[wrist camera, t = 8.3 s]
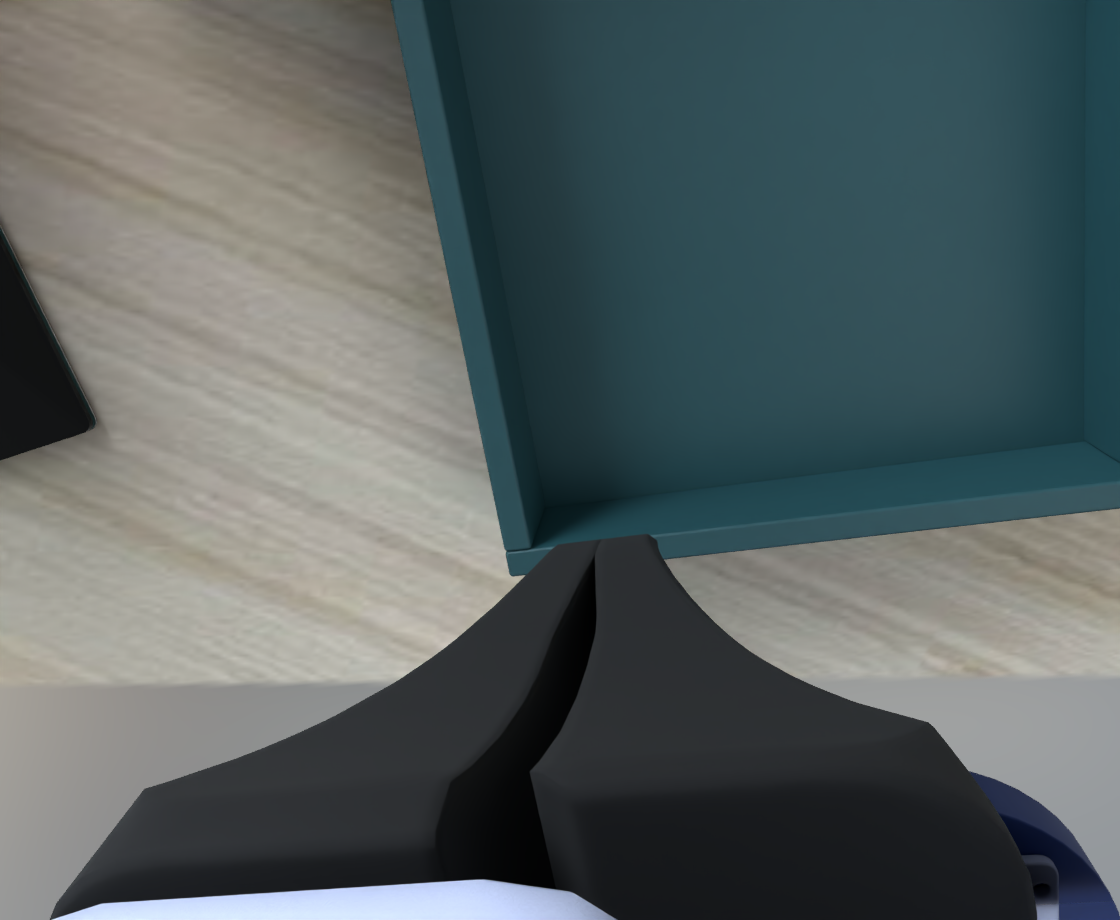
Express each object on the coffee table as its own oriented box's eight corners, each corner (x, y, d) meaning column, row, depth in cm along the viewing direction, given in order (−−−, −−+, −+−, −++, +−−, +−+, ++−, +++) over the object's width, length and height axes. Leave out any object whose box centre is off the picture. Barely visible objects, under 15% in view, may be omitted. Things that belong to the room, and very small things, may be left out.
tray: (1101, 455, 20) (1175, 503, 17) (529, 524, 22) (509, 578, 19) (1110, -439, 15) (1215, -580, 12) (378, -242, 17) (322, -325, 14)
